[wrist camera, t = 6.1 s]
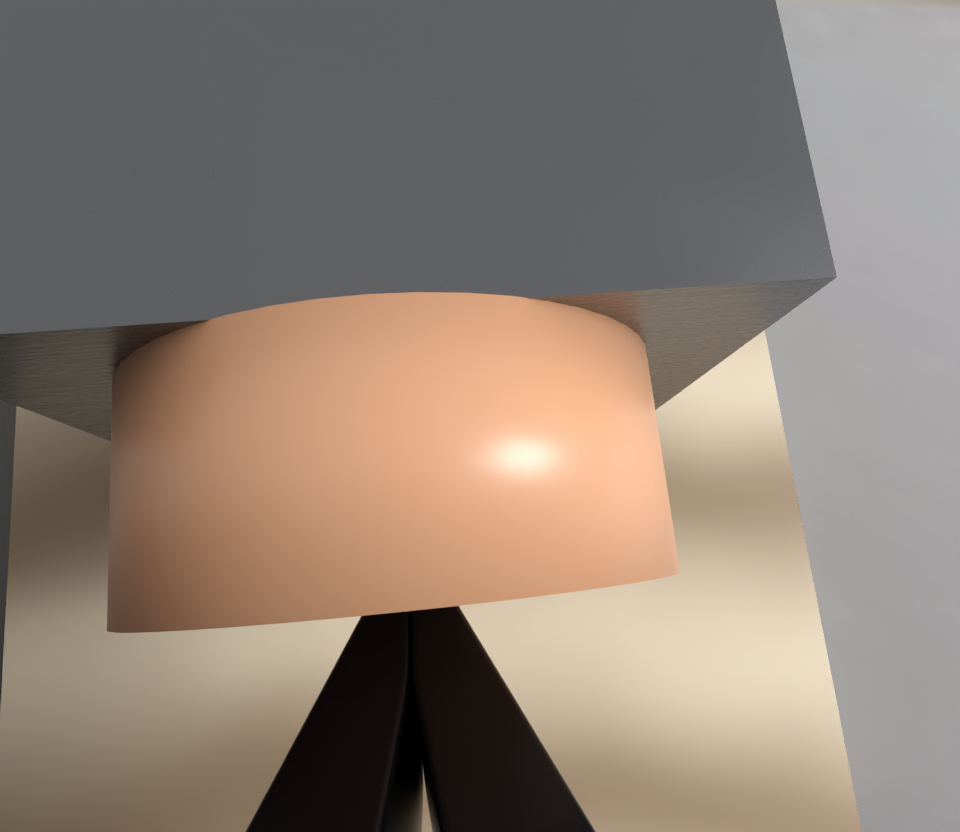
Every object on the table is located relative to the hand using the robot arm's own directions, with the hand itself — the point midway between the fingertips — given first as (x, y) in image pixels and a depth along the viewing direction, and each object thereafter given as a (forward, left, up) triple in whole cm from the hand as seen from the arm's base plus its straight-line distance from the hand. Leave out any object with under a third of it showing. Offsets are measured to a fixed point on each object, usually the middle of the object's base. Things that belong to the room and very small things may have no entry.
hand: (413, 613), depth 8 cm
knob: (+4, +2, -3) cm, 6 cm away
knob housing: (+5, +2, -6) cm, 8 cm away
